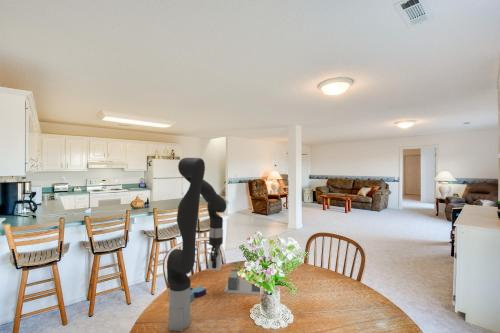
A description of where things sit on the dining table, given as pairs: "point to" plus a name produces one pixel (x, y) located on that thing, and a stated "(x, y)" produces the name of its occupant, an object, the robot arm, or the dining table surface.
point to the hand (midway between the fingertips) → (215, 266)
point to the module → (218, 262)
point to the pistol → (197, 292)
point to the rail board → (240, 285)
